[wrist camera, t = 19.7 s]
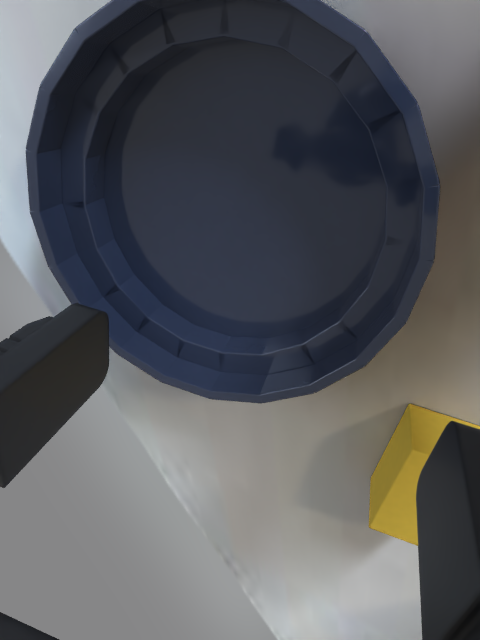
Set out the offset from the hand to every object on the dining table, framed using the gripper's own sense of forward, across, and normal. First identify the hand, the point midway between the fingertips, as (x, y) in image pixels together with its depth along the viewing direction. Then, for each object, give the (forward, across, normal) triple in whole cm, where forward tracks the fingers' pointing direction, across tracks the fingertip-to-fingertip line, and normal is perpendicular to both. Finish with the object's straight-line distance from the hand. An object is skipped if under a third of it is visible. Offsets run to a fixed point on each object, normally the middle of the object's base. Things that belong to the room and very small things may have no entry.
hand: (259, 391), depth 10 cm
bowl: (+15, +5, +1) cm, 16 cm away
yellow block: (+15, -9, +14) cm, 22 cm away
